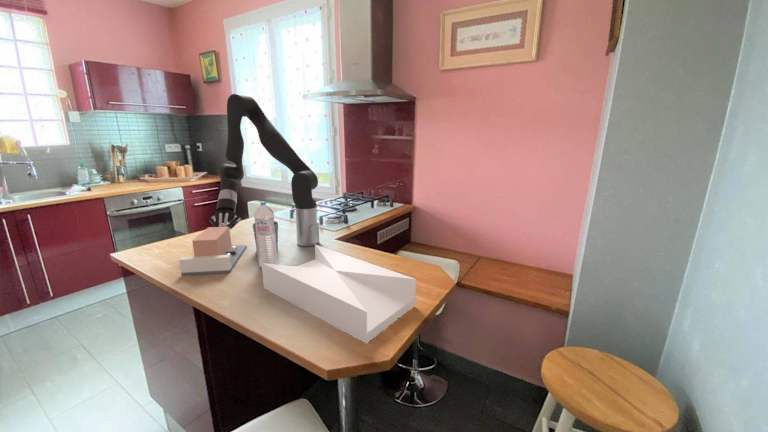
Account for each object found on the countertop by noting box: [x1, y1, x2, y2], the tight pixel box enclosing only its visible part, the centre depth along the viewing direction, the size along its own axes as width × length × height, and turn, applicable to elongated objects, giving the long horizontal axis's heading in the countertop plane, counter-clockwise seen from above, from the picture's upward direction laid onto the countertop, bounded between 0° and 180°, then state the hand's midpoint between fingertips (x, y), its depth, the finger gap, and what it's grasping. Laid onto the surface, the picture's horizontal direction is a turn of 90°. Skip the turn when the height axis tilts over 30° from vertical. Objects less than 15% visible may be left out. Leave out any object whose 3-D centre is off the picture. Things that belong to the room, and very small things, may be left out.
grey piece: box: [178, 244, 248, 276], centre depth 124 cm, size 26×16×6 cm, turn 10°
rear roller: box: [225, 245, 237, 254], centre depth 128 cm, size 13×3×3 cm
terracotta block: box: [191, 226, 232, 256], centre depth 121 cm, size 16×8×8 cm, turn 10°
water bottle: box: [253, 201, 278, 269], centre depth 118 cm, size 7×7×25 cm
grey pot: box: [252, 220, 279, 251], centre depth 135 cm, size 10×10×12 cm
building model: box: [261, 244, 417, 344], centre depth 98 cm, size 45×22×10 cm, turn 52°
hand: (222, 237), depth 131 cm, fingers closed
